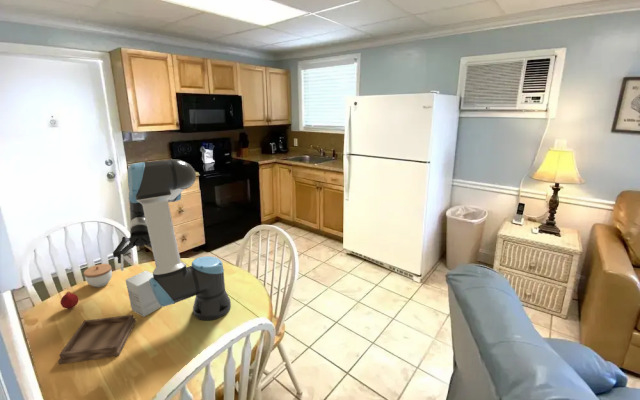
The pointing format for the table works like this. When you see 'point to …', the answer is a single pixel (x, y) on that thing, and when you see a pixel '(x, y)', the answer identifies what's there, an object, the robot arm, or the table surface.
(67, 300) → the onion
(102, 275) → the lidded jar
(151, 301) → the supplement box
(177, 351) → the table surface
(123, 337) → the walnut stand
